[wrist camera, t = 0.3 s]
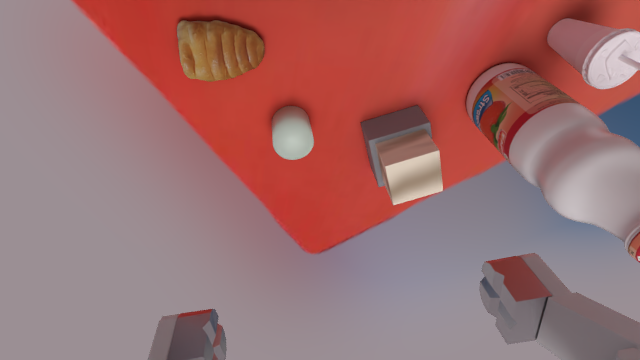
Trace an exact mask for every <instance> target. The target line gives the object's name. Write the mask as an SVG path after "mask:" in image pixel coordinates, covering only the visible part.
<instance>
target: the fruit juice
mask: <svg viewBox="0 0 640 360" xmlns="http://www.w3.org/2000/svg"><path fill="white" fill-rule="evenodd" d="M466 109H467V113H468V115H469V117H470V119H471V120H472V122H473V123H474V124H475V125H476V126H477V127H478V128H479V130H480V131H481V132H482V133H483V134H484V135H485V136H486V137H487V138H488V140H489V141H490V142H491V143H492V144H493V145H494V146H495V147H496V148H497V150H498V151H499V152H500V153H501V154H502V155H503V156H504V157H505V158H506V160H507V161H508V162H509V163H510V164H511V165H512V166H513V168H514V169H515V170H516V171H517V172H518V173H519V174H520V175H521V176H522V177H523V178H525V179H526V180H527V181H528V182H529V183H531V184H533V185H535V186H536V187H539V188H540V189H541V191H542V194H543V196H544V198H545V199H546V201H547V203H548V204H549V205H550V206H551V207H552V208H553V209H554V210H555V211H556V212H557V213H559V214H560V215H562V216H563V217H566V218H568V219H570V220H574V221H578V222H584V223H589V224H593V225H596V226H598V227H600V228H602V229H604V230H606V231H608V232H610V233H612V234H614V235H615V236H616V237H618V238H619V239H621V240H622V241H623V242H624V246H625V249H626V250H627V251H628V252H629V254H630V255H631V256H632V257H633V258H634V259H636V260H637V261H638V262H640V147H638V146H637V145H636V144H635V143H633V142H632V141H630V140H629V139H627V138H624V137H622V136H619V135H616V134H613V133H610V132H609V130H608V128H607V126H606V125H605V123H604V122H603V121H602V120H601V119H600V118H599V117H598V116H596V115H595V114H594V113H593V112H591V111H590V110H589V109H587V108H586V107H584V106H583V105H581V104H580V103H578V102H577V101H575V100H574V99H572V98H571V97H570V96H568V95H567V94H565V93H564V92H562V91H561V90H559V89H558V88H556V87H555V86H554V85H552V84H551V83H549V82H548V81H546V80H545V79H543V78H542V77H540V76H539V75H538V74H536V73H535V72H533V71H532V70H530V69H529V68H527V67H525V66H523V65H520V64H516V63H505V64H500V65H497V66H494V67H492V68H490V69H489V70H487V71H486V72H484V73H483V74H482V75H481V76H480V77H479V78H478V79H477V80H476V81H475V82H474V84H473V85H472V87H471V88H470V90H469V93H468V96H467V100H466Z"/></svg>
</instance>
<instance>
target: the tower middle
mask: <svg viewBox="0 0 640 360" xmlns="http://www.w3.org/2000/svg"><path fill="white" fill-rule="evenodd" d="M375 147H376V151H377V156H378V160H379V165H380V169H381V174H382V178H383V182H384V184H385V187H386V189H387V191H388V194H389V196H390V199H391V201H392V203H393V205H396V204H400V203H403V202H406V201H410V200H413V199H417V198H420V197H423V196H427V195H430V194H434V193H437V192H440V191H443V185H442V174H441V164H440V153H439V149H438V148H437V146H436V145H435V143H434V142H433V140H432V139H431V137H430V136H429V135H428V133H427V132H426V130H425V129H422V130H418V131H415V132H412V133H408V134H405V135H402V136H399V137H395V138H392V139H389V140H386V141H382V142H379V143H376V144H375Z"/></svg>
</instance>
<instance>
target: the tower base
mask: <svg viewBox="0 0 640 360" xmlns="http://www.w3.org/2000/svg"><path fill="white" fill-rule="evenodd" d="M361 127H362V131H363V135H364V139H365V144H366V148H367V152H368V157H369V161H370V165H371V169H372V171H373V174H374V176H375V179H376V181H377V184H378V186H379V187H381V186H385V184H384V182H383V178H382V174H381V169H380V165H379V160H378V156H377V151H376V147H375V144H376V143H379V142H382V141H386V140H389V139H392V138H395V137H399V136H402V135H405V134H408V133H412V132H415V131H418V130H422V129H425V130H426V132H427V133H428V135H429V136H430V137H431V139H432V135H431V125H430V121H429V120H428V119H427V117H426V116H425V114H424V113H423V112H422V110H421V109H420V108H419V106H418V105H416V106H413V107H410V108H406V109H403V110H400V111H396V112H393V113H390V114H387V115H383V116H380V117H377V118H373V119H370V120H367V121H363V122H361Z"/></svg>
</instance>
